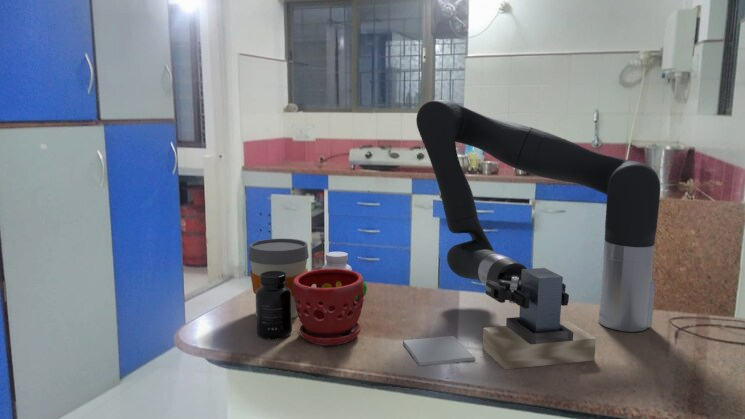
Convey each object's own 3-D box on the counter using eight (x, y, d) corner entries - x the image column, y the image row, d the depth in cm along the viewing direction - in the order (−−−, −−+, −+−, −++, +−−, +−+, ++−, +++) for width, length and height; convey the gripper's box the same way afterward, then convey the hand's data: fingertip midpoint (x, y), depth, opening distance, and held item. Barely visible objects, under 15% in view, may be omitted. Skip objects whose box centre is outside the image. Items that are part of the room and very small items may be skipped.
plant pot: (306, 322, 118) (306, 265, 116) (369, 328, 115) (370, 269, 113) (284, 347, 105) (283, 283, 103) (354, 353, 102) (354, 288, 100)
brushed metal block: (541, 326, 106) (544, 267, 104) (558, 338, 100) (562, 276, 98) (518, 328, 104) (521, 269, 103) (535, 340, 99) (538, 278, 97)
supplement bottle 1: (258, 327, 115) (257, 269, 113) (293, 327, 115) (292, 268, 113) (254, 340, 108) (252, 279, 106) (291, 340, 108) (290, 278, 106)
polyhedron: (370, 297, 135) (370, 277, 134) (361, 303, 130) (361, 283, 129) (351, 294, 137) (351, 275, 136) (341, 300, 132) (341, 280, 131)
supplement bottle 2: (347, 318, 120) (347, 258, 118) (317, 315, 122) (317, 256, 120) (355, 308, 127) (355, 251, 125) (326, 305, 128) (326, 249, 126)
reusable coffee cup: (321, 310, 125) (320, 242, 123) (282, 327, 115) (281, 254, 112) (277, 300, 132) (276, 235, 130) (237, 315, 122) (235, 246, 119)
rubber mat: (453, 339, 110) (453, 335, 109) (474, 360, 100) (474, 357, 100) (403, 343, 107) (403, 340, 107) (419, 365, 98) (419, 362, 98)
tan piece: (565, 341, 109) (567, 313, 108) (594, 360, 100) (596, 330, 100) (482, 348, 105) (483, 319, 104) (505, 369, 96) (506, 338, 96)
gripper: (470, 259, 113) (509, 283, 97) (537, 256, 116) (585, 278, 100) (469, 296, 114) (507, 325, 98) (535, 291, 117) (582, 319, 101)
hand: (547, 301), depth 99 cm, fingers open, 7 cm apart
